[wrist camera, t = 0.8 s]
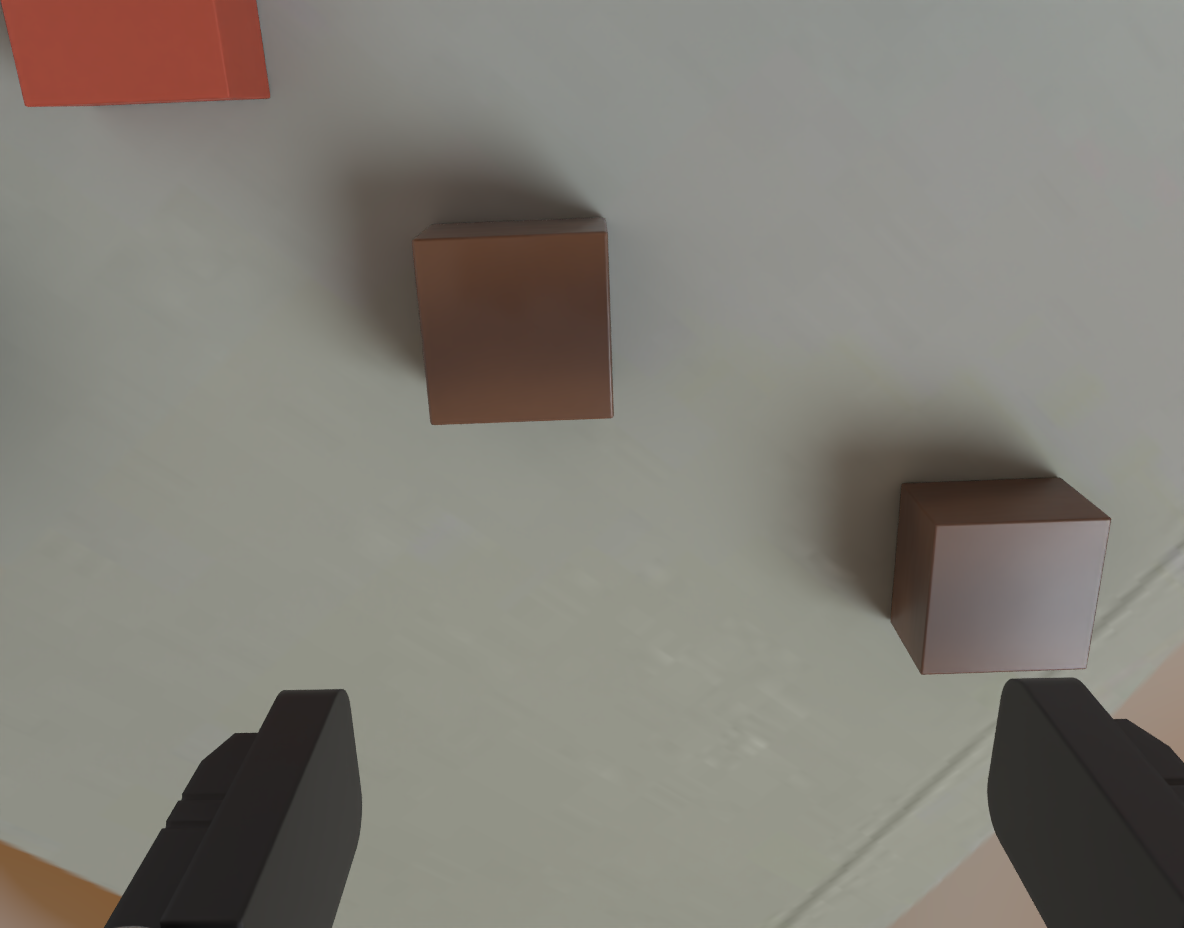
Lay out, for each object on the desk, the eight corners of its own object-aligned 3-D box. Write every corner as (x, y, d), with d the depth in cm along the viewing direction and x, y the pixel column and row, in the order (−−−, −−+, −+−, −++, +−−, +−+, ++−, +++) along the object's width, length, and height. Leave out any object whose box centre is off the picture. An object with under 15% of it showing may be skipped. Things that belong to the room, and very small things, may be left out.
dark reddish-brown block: (901, 482, 30) (935, 524, 27) (1060, 476, 30) (1112, 518, 27) (889, 622, 32) (920, 676, 29) (1040, 616, 32) (1087, 669, 29)
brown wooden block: (430, 223, 27) (410, 238, 24) (605, 216, 27) (607, 231, 24) (446, 392, 29) (429, 426, 26) (611, 386, 29) (613, 419, 26)
